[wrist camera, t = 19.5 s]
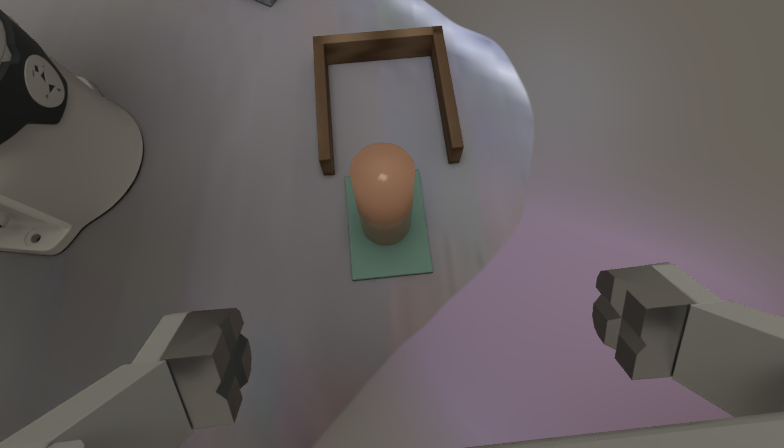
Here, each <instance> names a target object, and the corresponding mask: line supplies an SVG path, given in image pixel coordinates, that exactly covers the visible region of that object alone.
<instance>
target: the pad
mask: <svg viewBox="0 0 784 448" xmlns="http://www.w3.org/2000/svg"><path fill="white" fill-rule="evenodd" d="M345 184H346V197H347V211H348V225H349V239H350V253H351V267H352V280H353V281H356V280H366V279H376V278H386V277H395V276H405V275H415V274H425V273H433V269H432V262H431V255H430V248H429V240H428V233H427V226H426V219H425V212H424V204H423V197H422V190H421V183H420V175H419V169H416V170H415V180H414V192H413V204H412V216H411V226H410V230H409V232H408V234H407V235H406V237H405V238H404V239H403V240H401V241H400V242H398V243H396V244H393V245H379V244H376V243H374V242H372V241H371V240H369V239H368V238H367V237H366V235H365V234H364V232H363V229H362V226H361V221H360V217H359V213H358V208H357V204H356V199H355V195H354V191H353V186H352V182H351V177H350V176H345Z"/></svg>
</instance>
